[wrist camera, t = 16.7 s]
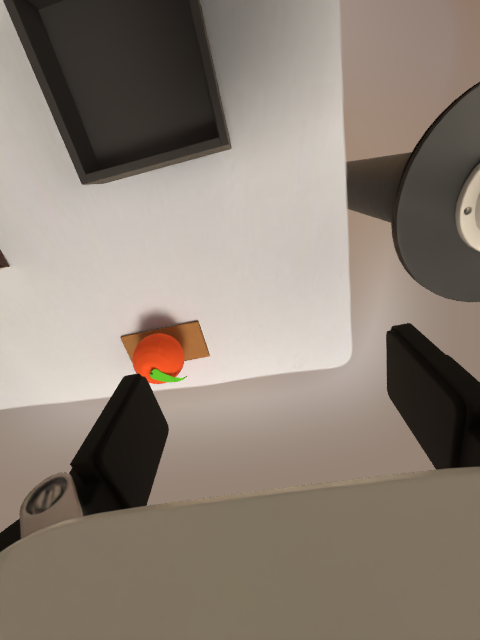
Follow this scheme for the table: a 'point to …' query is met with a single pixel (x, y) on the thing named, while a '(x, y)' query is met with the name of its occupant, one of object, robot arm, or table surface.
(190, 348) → the cork mat
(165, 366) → the clementine
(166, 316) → the table surface
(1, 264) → the protein powder
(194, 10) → the black box
